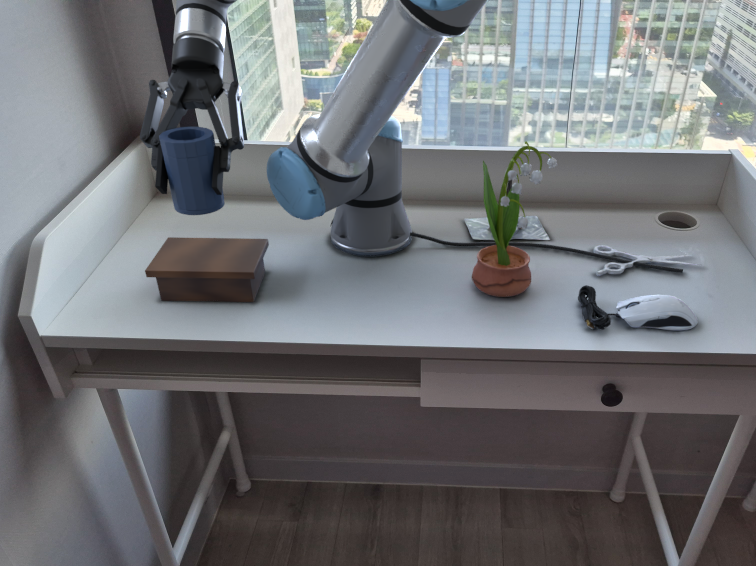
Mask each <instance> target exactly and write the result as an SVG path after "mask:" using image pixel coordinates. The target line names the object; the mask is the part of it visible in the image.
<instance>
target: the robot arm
mask: <svg viewBox="0 0 756 566" xmlns="http://www.w3.org/2000/svg"><path fill="white" fill-rule="evenodd" d="M237 1H238V0H176V1H175V3H176V4H175V18H174V26H173V27H174V28H173V29H174V30H173V37H172V38H173V45H172V53H171V54H172V55H171V71H170V72H171V73H170V75H169V76H168V78H167V80H166V81H161V82H157V80H156V79H150V80H149V82H148V88H149V97H148V101H147V105H146V108H145V109H146V110H145V114H144V117H143V122H142V125H141V130H140V133H139V139H140V141H141V142H142V143H143V144H144V145H145V146H146V148H147V149H151V158H150V165H151V167H152V169H153V170H154V172H155V182H154V183H155V184H154V187H155V189H157V190H158V191H159V192H160V194H161V195H168V185H169V181H168V176H167V171H166V167H165V162H164V157H163V152H162V148H161V143H160V138H159V135H160V134H161V133H163V132H165V131H167V130H170V129H175V128H178V127H179V124H180V122H181V120H182V118H183V117H185V115H187V112H188V111H189V110H197V109H198V110H201V111H203V110H204V111H207V113H208V116H209V118H210V121H211V124H212V126H213V129H214V132H215V134H216V136H217V139H218V143H219V145H216V146H214V161H213V176H212V188H213V190H214V191H215V193H216V194H217V195H222V188H223V187H224V186H223V185H224V173H229V172H230V170H231V161H232V160H231V159H232V158H231V157H232V152H233V151H236V150H240V151H241V150H243V149H244V148H245V140H244V131H243V123H242V120H243V119H242V113H241V102H242V97H243V95H244V94H243V91H242V88H241V86H240V84H239V82H238V81H236V80H233V81H231V83H229V82H225V81H224V80H223V77H224V66H225V65H224V64H225V63H224V62H225V56H224V55H225V54H224V53H225V47H226V46H225V45H226V32H227V16H228V10H229V7H231V6H232V5H233V4H234V3H236V2H237ZM488 1H489V0H387V1H386V2H385V3H384V6H383V7H382V9H381V11H380V12H379V14H378V16H377V17H376V18H375V21H374V22H373V24H372V26H371V28H370V30H369V31H368V33H366V36H365V38H364V39H363V41H362V43H361V44H360V46H359V48H358V49H357V51H356V53H355V55H354V57H353V58H352V59H351V61H350V63H349V65H348V66H347V68H346V70H345V72H344V73H343V75H342V77H341V79H340V80H339V82H338V84H337V85H336V87H335V89H334V90H333V92H332V94H331V95H330V97H329V99H328V100H327V102H326V103H325V106H324V107H323V109H322V111H321V112H320V114H314V115H311V116H309V117H307V118H306V119H305V120H304V121H303V123H302V124H301V126H300V127H299V130H298V131H297V132H296V135H295V136H294V138H293V140H292V141H291V143H289V144H288V145H287V146H280V147H279V148H277V149H276V150H274V151H273V152H272V153H270V155H269V157H268V158H267V162H266V176H267V181H268V183H269V188H270V190H271V192H272V195H273V197H274V198H275V200H276V201H277V203H278V204H279V206H281V208H282V209H283V210H284V211H285V212H286V213H287V214H288V215H290V216H292V217H293V218H296V219H299V220H303V221H310V220H313V219H315V218H320V217H323V216H324V215H325V214H326V213H328V212H330V211H332V210H334V209H335V211H334V215H333V218H332V220H331V222H330V225H329V226H330V227H329V228H330V242H331V244H332V246H333V247H334V248H336V249H337V250H339V251H340V252H343V253H346V254H349V255H351V256H357V257H381V256H382V257H383V256H389V255H391V254H396V253H398V252H401V251H402V250H403V251H404V250H405V249H406V248H407V247H408V246H410V244H411V243H412V239H413V238H414V237H415V238H418V239H421V240H422V239H423V240H426V241H430V242H433V243H437V244H439V245H444V246H450V247H488V246H493V245H496V243H495V241H493V242H492V241H485V242H484V241H480V242H479V241H477V242H475V241H474V242H455V241H446V240H442V239H440V238H436V237H433V236H430V235H425V234H421V233H418V232H417V233H416V232H413V230H412V226H411V222H410V220H409V216H408V214H407V210H406V208H405V205H404V202H403V168H402V167H403V164H402V163H403V142H404V139H403V137H402V136H403V135H402V126H401V122H400V121H399V120H398V119H397V118H396V117H395V116H393V114H394V113H395V112H396V110H397V108H398V107H399V106H400V104H401V103H402V101H403V100H404V98H405V97H406V95H407V94H408V93H409V91H410V90H411V88H412V87H413V86H414V84H415V83H416V81H417V80H418V78H419V77H420V75H421V74H422V73H423V71H424V70H425V68H426V67H427V65H428V64H429V63H430V61H431V60H432V58H433V57H434V55H435V54H436V53H437V52H438V50H439V48H440V47H441V46H442V45H443V43H444V41H445V40H446V38H459V37H460V36H462V35H464V34H465V32H466V31H467V30H468V29H469V27H470V26H471V25H472V23H473V22H474V21H475V19H476V17H478V15H479V14H480V12H481V11H482V9H483V8H484V6H485V5H486V4H487V3H488ZM169 91H170V92H172V94H173V95H172V96H171V97H170V101H169V106H168V108H167V109H166V112H165V113H164V116H163V117H162V113H163V108H164V104H165V103H164V102H165V99H167V95H168V92H169ZM223 93H224V94H225V96H226V98H227V102H228V112H229V123H230V131H231V137H228V134H227V132H226V128H225V127H224V124H223V121H222V118H221V116H220V113H219V109H218V107H217V104H216V102H217V101H218V100H219V98H220V97H221V96H222V95H223ZM161 117H162V119H161ZM508 246H513V247H527V248H539V249H547V250H548V249H549V250H555V251H562V252H567V253H569V252H570V253H573V254H578V255H583V256H589V257H593V258H598V259H603V260H608V261H612V262H615V263H620V264H624V263H630V262H632V261H633V260H630V259H629V260H628V259H624V258H620V257H617V256H616V257H615V256H607V255H602V254H597V253H594V252H592V251H587V250H583V249H577V248H573V247H566V246H559V245H554V244H546V243H535V242H517V241H509V244H508ZM633 266H635V267H639V268H645V269H649V270H651V269H652V270H657V271H665V272H671V273H679V274H683V273H684V268H676V267H671V266H664V265H656V264H649V263H639V262H634V263H633Z"/></svg>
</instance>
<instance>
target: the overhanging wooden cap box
mask: <svg viewBox="0 0 756 566" xmlns="http://www.w3.org/2000/svg"><path fill="white" fill-rule="evenodd" d="M269 245H270V243H269V239H268V238H237V237H235V238H233V237H231V238H229V237H170V236H169V237H166V239H165V241H164V243H162V245H161V246H160V248H159V250H158V251H157V252H156V254H155V255H154V257H153V258H152V260H151V261H150V263H149V264H148V265H147V267H146V269H145V270H144V273H145V277H146V278H155V280H156V285H157V288H158V292H159V297H160V301H162V302H214V303H215V302H218V303H221V302H223V303H254V302H255V300H256V297H257V294H258V292H259V289H260V287H261V284H262V283H263V280H264V277H265V276H266V275H265V274H266V268H265V260H264V257H265V255H266V253H267V250H268V249H269Z"/></svg>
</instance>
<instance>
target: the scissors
mask: <svg viewBox="0 0 756 566" xmlns="http://www.w3.org/2000/svg"><path fill="white" fill-rule="evenodd" d="M603 250H604V251H603ZM593 253H597V254H602V255H607V256H611V257H613V256H619V257H624V258H628V259H629V260H631V261H632V262H630V263H620V262H616V261H612V262H608V263H606V264H605V265H604V267H603V269H601V270H597V271H596V276H598V277H600V276H603V275H605V274H609V275H621V274H623V273H624V271H625V269H626V268H632V267H633V266H634V265H633V263H634V262H639V263H644V264H649V263H659V264H674V265H686V266H687V265H688V266H701V264H699V263H692V262H684V261H676V260H670V259H677V258H684V257H689V256H692V254H679V255H678V254H676V255H660V256H658V255H657V256H648V255H640V254H634V253H633V254H631V253H628V252H626V251H620V250H619V251H618V250H617V249H615V248H614V247H611V246H608V245H596V246H594V247H593ZM611 268H616V269H611Z"/></svg>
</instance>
